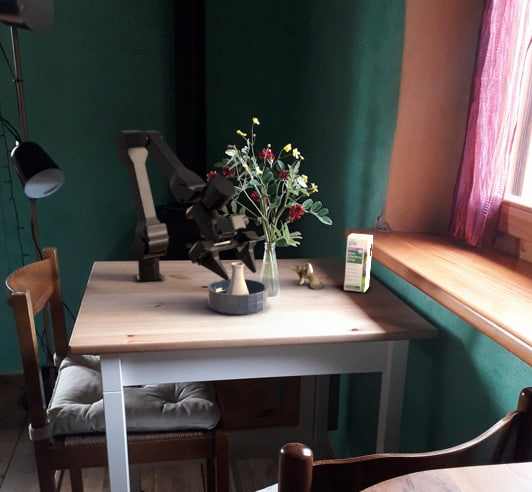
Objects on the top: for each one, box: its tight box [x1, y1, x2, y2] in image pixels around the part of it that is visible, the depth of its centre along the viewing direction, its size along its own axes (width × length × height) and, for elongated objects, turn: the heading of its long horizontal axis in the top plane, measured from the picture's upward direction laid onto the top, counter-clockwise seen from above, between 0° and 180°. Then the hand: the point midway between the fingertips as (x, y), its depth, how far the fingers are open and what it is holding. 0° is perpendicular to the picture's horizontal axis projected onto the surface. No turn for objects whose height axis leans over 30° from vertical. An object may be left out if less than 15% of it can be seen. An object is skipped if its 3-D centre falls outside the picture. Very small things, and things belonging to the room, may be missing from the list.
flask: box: [226, 261, 249, 295], centre depth 148 cm, size 7×7×10 cm
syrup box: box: [343, 233, 374, 293], centre depth 163 cm, size 6×6×14 cm
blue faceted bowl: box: [207, 278, 269, 316], centre depth 149 cm, size 14×14×5 cm
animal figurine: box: [289, 262, 323, 290], centre depth 168 cm, size 8×7×9 cm
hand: (242, 275), depth 146 cm, fingers open, 9 cm apart
